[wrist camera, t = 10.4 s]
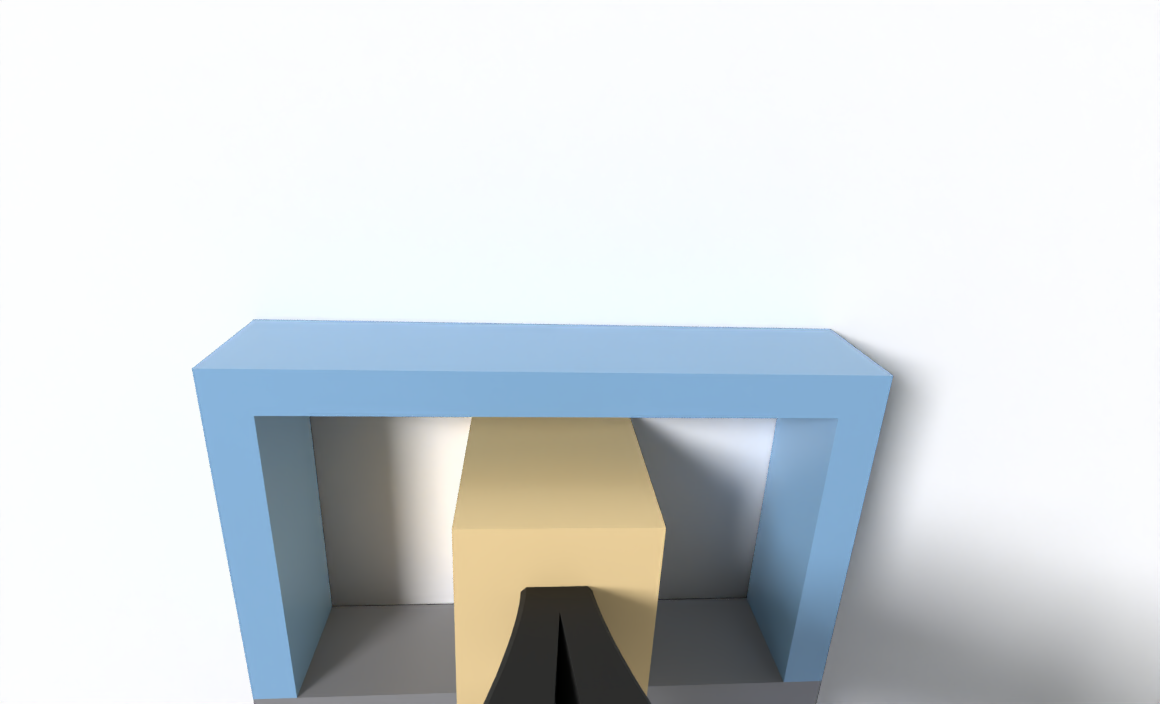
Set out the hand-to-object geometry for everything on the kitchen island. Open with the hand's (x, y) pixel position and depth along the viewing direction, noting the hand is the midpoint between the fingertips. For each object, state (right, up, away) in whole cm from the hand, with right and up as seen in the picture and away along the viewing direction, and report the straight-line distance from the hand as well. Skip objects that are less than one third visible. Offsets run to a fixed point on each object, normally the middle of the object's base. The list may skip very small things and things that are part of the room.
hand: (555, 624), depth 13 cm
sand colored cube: (0, +2, +5) cm, 5 cm away
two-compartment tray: (-1, -2, +6) cm, 6 cm away
